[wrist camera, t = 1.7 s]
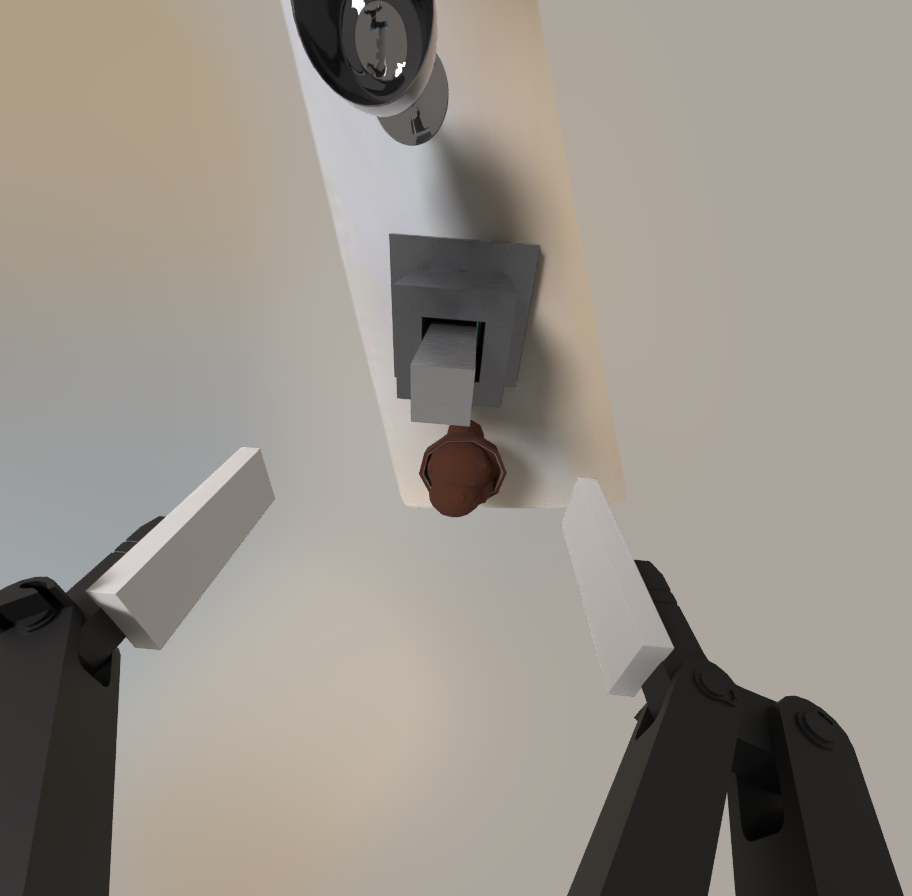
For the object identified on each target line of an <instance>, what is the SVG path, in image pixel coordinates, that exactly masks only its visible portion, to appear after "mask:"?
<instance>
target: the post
mask: <svg viewBox="0 0 912 896" xmlns="http://www.w3.org/2000/svg"><path fill="white" fill-rule="evenodd" d="M477 330H478V321H467V320H455V319H443V318H434V319H433V321H432V323H431V325H430V327H429V329H428V331H427V333H426V335H425V337H424V339H423V341H422V343H421V345H420V347H419V349H418V351H417V353H416V355H415V357H414V359H413V361H412V363H411V365H410V369H411V421H412V422H423V423H435V424H446V425H458V426H469V427H470V418H471V408H472V398H473V388H474V378H475V364H476V340H477Z"/></svg>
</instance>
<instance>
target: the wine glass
mask: <svg viewBox="0 0 912 896" xmlns="http://www.w3.org/2000/svg"><path fill="white" fill-rule="evenodd" d="M291 5H292V11H293V17H294V20H295V24H296V28H297V31H298V35H299V37H300V40H301V42H302V45H303V47H304V50H305V52H306V54H307V56H308V57H309V59H310V61H311V63H312V65H313V67H314V68H315V69H316V71H317V72H318V73H319V75H320V76H321V78H322V79H323V80H324V81H325V82H326V83H327V85H328V86H329V87H330V88H331V89H332V90H333V91H334V92H335V93H336V94H337V95H339V96H340V97H341V98H342V99H344V100H345V101H346V102H348V103H349V104H350V105H352V106H353V107H355V108H356V109H358V110H360V111H362V112H364V113H366V114H370V115H374V116H377V118H378V120H379V122H380V124H381V125H382V127H383V128H384V130H385V131H386V132H387V133H388V134H389V135H390V136H391V137H392V138H394V139H395V140H396V141H398V142H400V143H403V144H407V145H417V144H421V143H423V142H425V141H427V140H429V139H430V138H431V137H432V136H433V135H434V134H435V133H436V132H437V131H438V129H439V127H440V126H441V124H442V121H443V119H444V117H445V113H446V109H447V103H448V84H447V77H446V74H445V70H444V67H443V65H442V62H441V60H440V58H439V57H438V55H437V53H436V48H437V37H438V29H437V11H436V3H435V0H291Z"/></svg>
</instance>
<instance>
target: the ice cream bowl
mask: <svg viewBox="0 0 912 896" xmlns="http://www.w3.org/2000/svg"><path fill="white" fill-rule="evenodd" d="M483 435H484V434H483V432H482V429H481V427H480V425H479V424H477V423H475V422H474V421H472V420H470V427H469V426H458V425H450V426H449V429H448V433H447V435H445V436H444V437H442V438H441V439H440V440H438V441H437V442H435V443H434V444H432V445H431V446H429V447H428V448H427V450H426V451H425V453H424V456H423V460H422V464H421V468H420V472H419V475H420V477H421V478H422V480H423V482H424V484H425V486H426V487H427V489H428V491H429V497H430V501H431V503H432V505H433V506H434V507H435V508H436V509H437V510H438V511H439V512H440V513H441V514H442V515H446V516H450V517H461V516H464V515H467V514H469V513H470V512H472V511H473V510H474V509H475V508H476V507H477V506H478V505H479V504H481V503H485V502H486V500H487V499H488V498H490V497H492V496H493V495H495V494H497V493H498V492H499V489H500V487H501V485H502V482H503V480H504V478H505V476H506V470H505V468H504V465H503V462H502V460H501V457H500V455H499V452H498V450H497V448H496V446H495V445H494V444H492V443H491V442H489V441H487V440H486V439H484V438H483Z"/></svg>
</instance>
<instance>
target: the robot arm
mask: <svg viewBox="0 0 912 896" xmlns="http://www.w3.org/2000/svg"><path fill="white" fill-rule="evenodd" d="M274 499H275V497H274V493H273V490H272V487H271V483H270V480H269V477H268V473H267V470H266V467H265V463H264V460H263V457H262V453H261V450H260V449H258V448H248V447H241V448H240V449H239V450H238V451H237V452H236V453H235V454H234V455H233V456H231V457H230V458H229V459H228V460H227V461H226V462H225V463H224V464H223V465H222V466H221V467H219V468H218V469H217V470H216V471H215V472H214V473H213V474H212V475H211V476H210V477H209V478H208V479H206V480H205V481H204V482H203V483H202V484H201V485H200V486H199V487H198V488H197V489H196V490H195V491H193V492H192V493H191V494H190V495H189V496H188V497H187V498H186V499H185V500H184V501H183V502H182V503H181V504H179V505H178V506H177V507H176V508H175V509H174V510H173V511H172V512H171V513H170V514H168V515H167V516H166V517H162V516H159V517H157V518H155V519H154V520H152V521H150V522H148V523H147V524H145V525H143V526H141V527H140V528H139V529H138V530H137V531H136V532H134V533H133V534H132V535H131V536H130V537H129V538H128V539H127V540H126V542H123V543H122V544H121V545H120V546H118V547H117V549H115V551H114V553H111V554H110V555H108V556H107V557H106V558H105V559H104V560H103V561H101V562H100V563H99V564H98V565H97V566H96V567H95V568H94V569H92V570H91V571H90V572H89V573H88V574H87V575H86V576H85V577H83V578H82V579H81V580H80V581H79V582H78V583H77V584H75V585H74V586H73V587H72V588H71V589H70V590H69V591H68V592H66V593H65V592H64V591H63V590H62V589H61V588H60V586H59V585H57V583H56V582H55V581H54V580H52V579H50V578H48V577H34V578H30V579H25V580H21V581H19V582H17V583H14V584H12V585H10V586H7V587H5V588H4V589H2V590H0V896H109V880H110V862H111V861H110V860H111V840H112V820H113V799H114V779H115V760H116V739H117V719H118V718H117V717H118V697H119V677H120V657H121V655H120V652H119V649H118V648H117V646H118V645H119V644H120V643H121V642H122V641H123V639H124V638H125V637H126V638H127V639H128V640H129V641H130V642H131V643H132V644H133V646H134V647H136V648H146V649H156V650H161V649H162V648H163V646H164V645H165V644H166V642H167V641H168V640H169V638H170V637H171V636H172V634H173V633H174V632H175V630H176V629H177V628H178V626H179V625H180V624H181V622H182V621H183V620H184V619H185V617H186V616H187V615H188V613H189V612H190V611H191V609H192V608H193V607H194V605H195V604H196V603H197V601H198V600H199V598H200V597H201V596H202V595H203V593H204V592H205V591H206V589H207V588H208V587H209V585H210V584H211V583H212V581H213V580H214V579H215V578H216V576H217V575H218V573H219V572H220V571H221V570H222V568H223V567H224V566H225V564H226V563H227V562H228V560H229V559H230V557H231V556H232V555H233V554H234V552H235V551H236V550H237V548H238V547H239V546H240V544H241V543H242V542H243V541H244V539H245V538H246V537H247V535H248V534H249V532H250V531H251V530H252V529H253V527H254V526H255V524H256V523H257V522H258V521H259V519H260V518H261V517H262V515H263V514H264V513H265V511H266V510H267V509H268V507H269V506H270V505H271V503H272V502H273V501H274ZM562 529H563V533H564V536H565V540H566V544H567V547H568V551H569V554H570V558H571V562H572V566H573V569H574V573H575V577H576V580H577V584H578V588H579V591H580V595H581V599H582V602H583V606H584V610H585V613H586V617H587V621H588V624H589V628H590V632H591V635H592V639H593V642H594V646H595V650H596V654H597V658H598V661H599V665H600V668H601V672H602V676H603V680H604V683H605V686H606V690H607V694H611V695H622V696H631V697H634V696H635V695H636V694H637V692H638V691H639V690H640V689H641V688H642V690H643V693H644V695H645V698H646V701H647V703H646V704H645V705H644V706H643V708H642V709H641V710H640V711H639V712H638V713H637V715H636V716H635V717H634V718H635V719H636V720H637V721H638V722H637V724H636V727H635V729H634V732H633V734H632V737H631V739H630V742H629V744H628V747H627V749H626V752H625V754H624V757H623V759H622V762H621V764H620V766H619V769H618V772H617V774H616V776H615V779H614V781H613V784H612V786H611V789H610V791H609V794H608V796H607V799H606V801H605V804H604V806H603V809H602V811H601V813H600V816H599V818H598V821H597V824H596V826H595V828H594V831H593V833H592V836H591V838H590V841H589V843H588V846H587V848H586V850H585V853H584V856H583V858H582V861H581V863H580V865H579V868H578V870H577V873H576V875H575V878H574V881H573V883H572V885H571V888H570V890H569V892H568V895H567V896H708V891H709V886H710V881H711V875H712V869H713V864H714V859H715V853H716V848H717V842H718V837H719V831H720V827H721V821H722V816H723V810H724V804H725V799H726V794H727V795H728V807H729V819H730V831H731V844H732V856H733V869H734V881H735V894H736V896H904V895H903V892H902V889H901V886H900V883H899V880H898V877H897V875H896V872H895V869H894V866H893V863H892V860H891V857H890V854H889V851H888V848H887V845H886V842H885V839H884V836H883V833H882V830H881V827H880V824H879V821H878V818H877V815H876V812H875V809H874V806H873V804H872V801H871V798H870V795H869V792H868V789H867V786H866V783H865V780H864V777H863V774H862V771H861V768H860V765H859V762H858V759H857V756H856V753H855V750H854V748H853V746H852V744H851V742H850V740H849V738H848V736H847V734H846V733H845V732H844V730H843V729H842V728H841V727H840V726H839V725H838V723H837V722H836V721H835V720H834V719H833V718H832V717H831V716H829V715H828V714H827V713H826V712H825V711H824V710H823V709H822V708H820V707H818V706H816V705H815V704H814V703H812V702H810V701H808V700H806V699H803V698H800V697H798V696H786V697H784V698H783V699H781V700H780V701H779V702H775V701H773V700H771V699H768V698H766V697H763V696H761V695H758V694H756V693H754V692H751V691H749V690H746V689H744V688H742V687H740V686H738V685H736V684H735V683H734V682H733V681H732V679H731V678H730V677H729V676H728V674H726V673H725V672H724V671H723V670H722V669H720V668H719V667H718V666H717V665H716V664H714V663H712V662H710V661H708V659H707V658H706V656H705V654H704V653H703V651H702V649H701V647H700V645H699V643H698V641H697V640H696V638H695V636H694V634H693V632H692V630H691V628H690V626H689V624H688V622H687V621H686V618H685V617H684V615H683V613H682V611H681V609H680V607H679V606H677V601H676V599H675V597H674V596H673V594H672V593H671V592H670V588H669V586H668V584H667V582H666V580H665V578H664V577H663V575H662V574H661V573H660V572H659V571H658V570H657V568H656V567H655V566H654V565H653V564H652V563H651V562H650V561H641V560H633V558H632V556H631V553H630V551H629V549H628V547H627V545H626V543H625V540H624V538H623V536H622V534H621V532H620V529H619V527H618V525H617V523H616V521H615V519H614V516H613V514H612V512H611V510H610V508H609V505H608V503H607V501H606V499H605V497H604V495H603V492H602V490H601V488H600V486H599V484H598V482H597V479H590V478H579V477H578V478H577V481H576V484H575V486H574V489H573V492H572V495H571V498H570V501H569V504H568V507H567V510H566V513H565V516H564V519H563V522H562Z"/></svg>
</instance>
